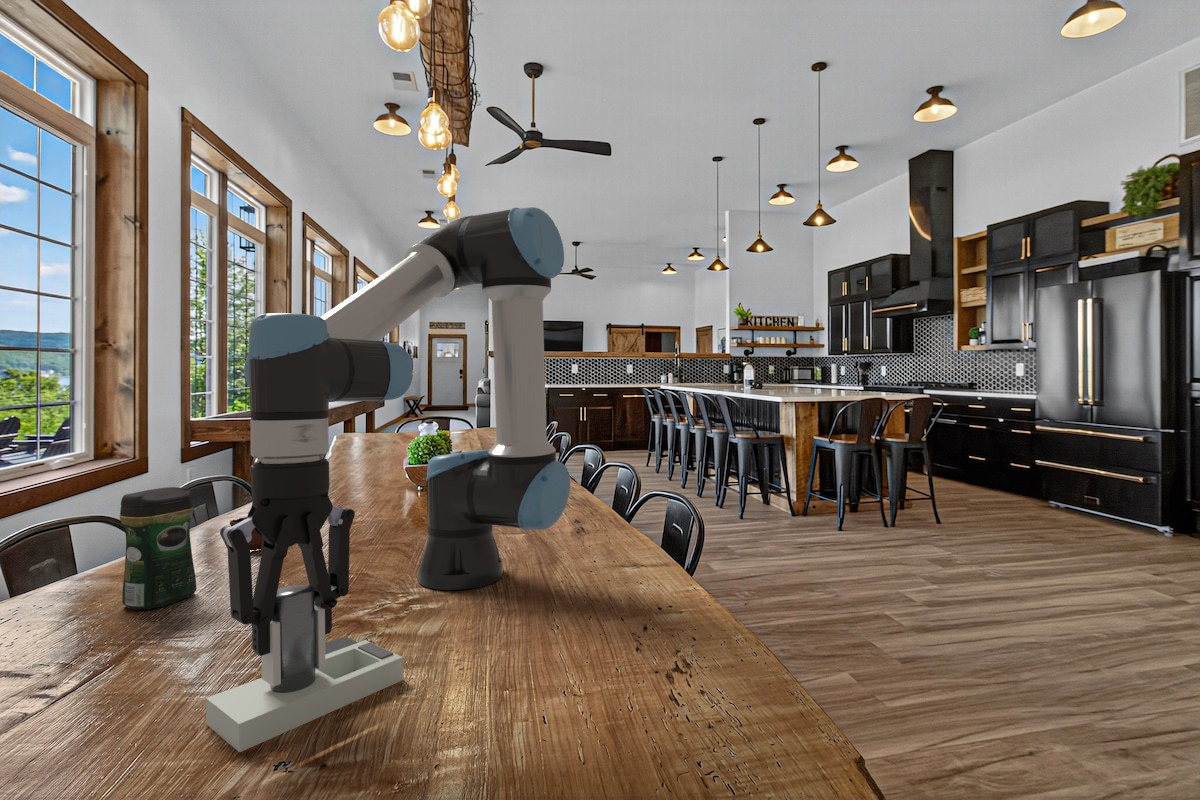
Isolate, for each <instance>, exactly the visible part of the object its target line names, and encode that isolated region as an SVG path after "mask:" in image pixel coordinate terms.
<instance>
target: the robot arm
mask: <svg viewBox="0 0 1200 800" xmlns="http://www.w3.org/2000/svg"><path fill="white" fill-rule="evenodd" d="M564 263H565V250H564V244H563V240H562V236H561V234H560V231H559V229H558V227H557V226H556V224H555V222H554V220H553V219H552V217H551V216H549V214H548V213H547V212H545V211H544V210H543V209H540V208H539V207H520V208H519V207H512V208H511V209H505V210H500V211H495V212H488V213H487V212H486V213H483V214H482V213H481V214H476V215H466V216H463V217H460V218H458V219H456V220H453V221H451V222H448V223H447V224H445V225H443V226H442V227H440V228H438V229H437V230H435V231H433V232H432V233H431V234H429V235H427V236H426V237H424V238H423V239H421V240H420V241H418V242H417V243H415V244H413V245H412V246H411V247H409V248H408V249H407V251H406V253H405V255H404V259H403V260H401V261H399V263H397V264H396V265H395V266H393V267H391V269H389V270H387V271H386V272H384V273H383V274H381V275H380V276H378V277H377V278H375V279H374V280H372V281H371V282H370V283H368V284H367V285H365V286H364V287H363V288H361V289H360V290H358V291H357V292H355V293H354V294H352V295H351V296H349V297H348V298H346V299H345V300H344V301H342V302H340V303H339V304H338V305H336V306H335V307H333V308H332V309H330V310H329V311H327V312H326V313H324V314H322V315H321V316H316V315H313V314H306V313H305V314H304V313H290V312H288V313H286V312H283V313H282V312H276V313H275V312H273V313H271V312H270V313H262V314H258V315H257V316H255V317H254V318H253V319H252V320H251V323H250V326H249V334H248V353H247V357H246V359H245V362H244V366H243V375H244V378H245V379H244V380H245V382H246V384H247V385H248V386H247V387H248V388H249V406H250V456H251V457H253V458H254V459H256V460H257V461H255V462H253V464H252V465H251V466H250V479H251V480H250V481H251V485H250V486H251V490H250V491H251V499H252V500H251V502H252V503H251V507H250V509H249V510H248V511H249V512H248V513H247V516H246V517H247V519H245V520H243V521H241V522H239V523H238V524H236V525H234V526H232V527H231V526H230V525H224V526H223V527H222V528H221V529H220V531H219V535H220V537H221V539H222V541H223V543H224V545H225V546H226V548H227V566H228V582H229V583H228V584H229V604H230V617H231V619H233V620H235V621H236V622H239V623H240V624H242V625H246V626H247V625H251V636H252V637H251V638H252V639H251V645H252V647H251V648H252V650H253V653H254V654H256V655H258V656H259V657H261V678H262V680H264V681H265V682H267V683H269V684H270V685H272V686H273V687H274V686H277V685H279V684H281V658H280V622H277V621H272V617H273V611H274V606H275V601H276V596H277V591H278V588H279V584H280V579H281V574H282V569H283V565H284V564H283V563H284V559H285V558H286V557H287V555H288V550H289V548H290V547H292V546H294V545H297V546H298V548H300V551H301V555H302V560H303V564H304V568H305V572H306V575H307V576H306V577H307V579H308V585H310V586H313V587H314V602H315V668H317V669H322V668H324V667H326V661H325V643H326V635H327V634H328V635H329V634H331V632H332V628H333V623H332V622H333V614H332V613H333V610H332V609H333V608H335V607H336V606H337V604H338V599H339V598H340V597H345V596H348V594H349V590H350V587H349V586H350V539H351V538H350V536H351V535H350V533H351V528H352V525H353V524H352V523H353V522H354V518H355V516H356V515H355V514H356V513H355V510H354V509H351V508H347V507H342V506H338V507H337V506H334V505H333V502H332V501H331V499H330V497H329V491H330V461H328V459H327V458H325V457H324V455H327V453H329V451H330V449H329V447H330V445H329V440H330V439H329V410H330V409H329V406H330V403H335V402H378V403H383V402H384V401H393V400H397V399H399V398H402V396H403V395H405V394H406V393H407V391H409V389H410V386H411V385H412V382H413V376H414V375H413V373H414V371H413V370H414V369H413V362H412V358H411V356H410V355H409V353H408V351H407V350H406V349H405V348H404V347H403V346H402V345H399V344H397V343H394V342H389V341H388V342H387V341H384V340H382V339H384V338H385V337H386V336H387V335H388V334H390V333H391V332H392V331H393V330H395V329H396V328H398V326H399V325H401V324H402V323H403V322H405V321H406V320H407V319H409V318H410V317H411V316H412V315H414V314H415V313H416V312H417V311H419V310H420V309H421V308H422V307H423V306H425V305H426V304H427V303H428V302H430V301H431V300H433V299H434V298H442V297H443V298H444V297H446V296H447V295H449V294H450V293H451V292H453V291H454V290H457V289H459V288H462V287H466V286H472V285H481V289H482V290H481V291H482V293H483V294H484V295H485V296H486V297H487V298H488V299H489V300H490V302H491V312H492V313H491V315H492V316H491V319H492V344H493V346H492V347H493V349H492V351H493V374H494V375H493V376H494V379H493V380H494V403H495V407H494V408H495V433H496V434H495V436H496V437H495V439H496V441H495V443H494V445H492V446H491V448H490V449H478V450H477V449H476V450H470V451H468V450H467V451H461V452H455V453H447V454H440V455H436V456H432V457H431V459H429V460H428V462H427V471H426V479H425V482H426V483H425V485H426V512H427V520H426V521H427V539H426V542H425V546H424V549H423V553H422V555H421V556H422V557H421V560H420V563H419V565H418V569H417V579H418V580H417V582H418V583H419V584H420V585H421V586H423V587H425V588H428V589H432V590H433V589H434V590H441V591H459V590H470V589H476V588H481V587H484V586H485V587H486V586H489V585H491V584H493V583H496V582H497V581H499V580H501V578H502V577H503V573H504V571H503V560H502V558H501V557H500V556H501V555H500V552H499V550H498V546H497V543H496V540H495V536H494V533H493V526H497V527H505V528H506V527H507V528H516V529H520V530H524V531H529V530H536V531H538V530H540V531H541V530H542V531H543V530H547V529H549V528H551V527H552V526H554V525H555V524H556V523H557V522H558V521H559V520H560V518H561V517H562V515H563V513H564V512H565V509H566V507H567V504H568V502H569V497H570V491H571V476H570V475H571V474H570V473H569V470H568V467H567V466H566V465H565V464H564V463H562V462H560V461H559V460H558V461H557V457H556V455H557V452H556V450H557V449H556V447H554V446H553V445H552V444H551V442H549V441H548V439H547V437H548V436H547V408H546V407H547V406H546V403H547V402H546V373H545V372H546V371H545V369H546V368H545V338H544V336H545V335H544V306H543V305H544V303H543V301H544V299H545V298H546V297H547V296H548V295H549V294H550V293H551V292H552V279H555V277H557V276H559V275H560V274H561V272H562V270H563V266H564ZM326 521H328V524H329V527H328V550H327V551H328V553H327V556H328V558H327V559H328V560H327V561H328V562H327V564H326V560H325V556H324V551H323V547H324V542H323V538H322V532H321V530H322V528H323V526H324V525H325V523H326ZM253 529H255V530H256V531H257V532H258V534H259V535H260V536H261V537H262V538H263V539H262V544H261V551H260V553H261V554H260V555H261V557H260V561H259V567H258V571H257V577H256V581H255V586H254V592H253V576H252V557H251V556H252V555H251V553H250V548H249V545H248V543H249V542H250V541H251V539H252V536H251V532H252V530H253ZM327 565H328V566H327Z"/></svg>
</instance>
